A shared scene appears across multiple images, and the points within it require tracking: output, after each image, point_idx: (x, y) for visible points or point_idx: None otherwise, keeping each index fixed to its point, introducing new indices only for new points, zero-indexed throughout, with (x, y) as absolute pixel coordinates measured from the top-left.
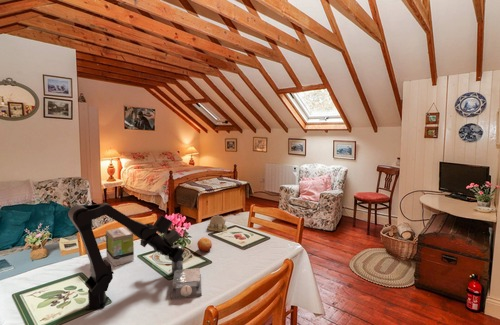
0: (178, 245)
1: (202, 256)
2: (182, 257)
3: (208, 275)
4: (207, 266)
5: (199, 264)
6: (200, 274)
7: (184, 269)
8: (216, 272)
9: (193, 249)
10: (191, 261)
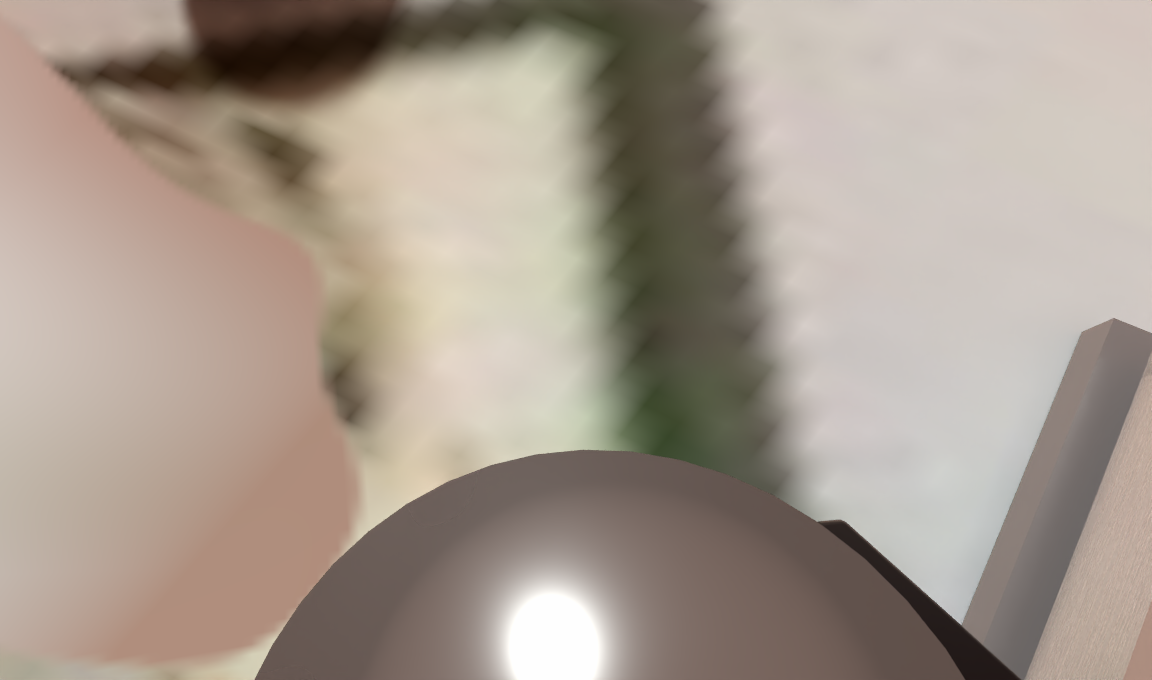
0: (428, 634)
1: (413, 15)
2: (928, 606)
3: (1103, 203)
4: (779, 87)
5: (630, 159)
6: (1117, 324)
7: (1143, 664)
8: (1072, 58)
9: (113, 31)
10: (444, 218)
